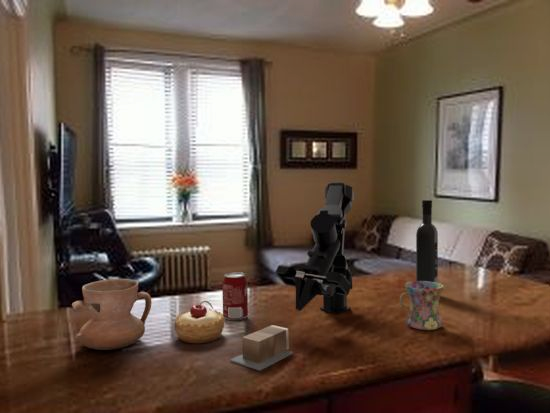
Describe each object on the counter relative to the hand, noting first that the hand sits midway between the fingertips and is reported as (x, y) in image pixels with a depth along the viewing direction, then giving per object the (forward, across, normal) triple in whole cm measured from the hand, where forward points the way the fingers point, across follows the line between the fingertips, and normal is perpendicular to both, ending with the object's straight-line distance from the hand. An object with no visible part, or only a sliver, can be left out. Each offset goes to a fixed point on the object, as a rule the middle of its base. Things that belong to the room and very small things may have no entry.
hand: (297, 310), depth 109 cm
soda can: (+3, +24, -8) cm, 26 cm away
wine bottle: (-34, -9, -46) cm, 58 cm away
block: (+8, 0, +2) cm, 8 cm away
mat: (+14, 0, +4) cm, 15 cm away
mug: (-12, -19, -24) cm, 33 cm away
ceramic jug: (+24, +33, +14) cm, 43 cm away
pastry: (+14, +21, +3) cm, 25 cm away
